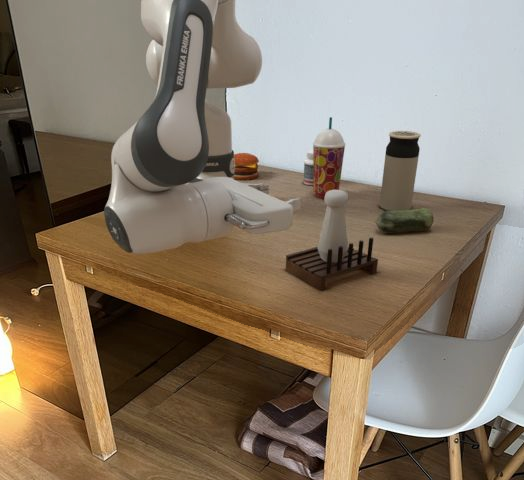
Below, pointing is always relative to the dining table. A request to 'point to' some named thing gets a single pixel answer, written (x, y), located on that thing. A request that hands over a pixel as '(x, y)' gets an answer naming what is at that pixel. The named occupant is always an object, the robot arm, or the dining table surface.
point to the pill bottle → (309, 169)
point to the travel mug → (399, 170)
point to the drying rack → (329, 264)
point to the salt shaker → (334, 225)
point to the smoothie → (327, 160)
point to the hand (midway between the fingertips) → (282, 195)
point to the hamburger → (245, 166)
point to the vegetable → (405, 220)
